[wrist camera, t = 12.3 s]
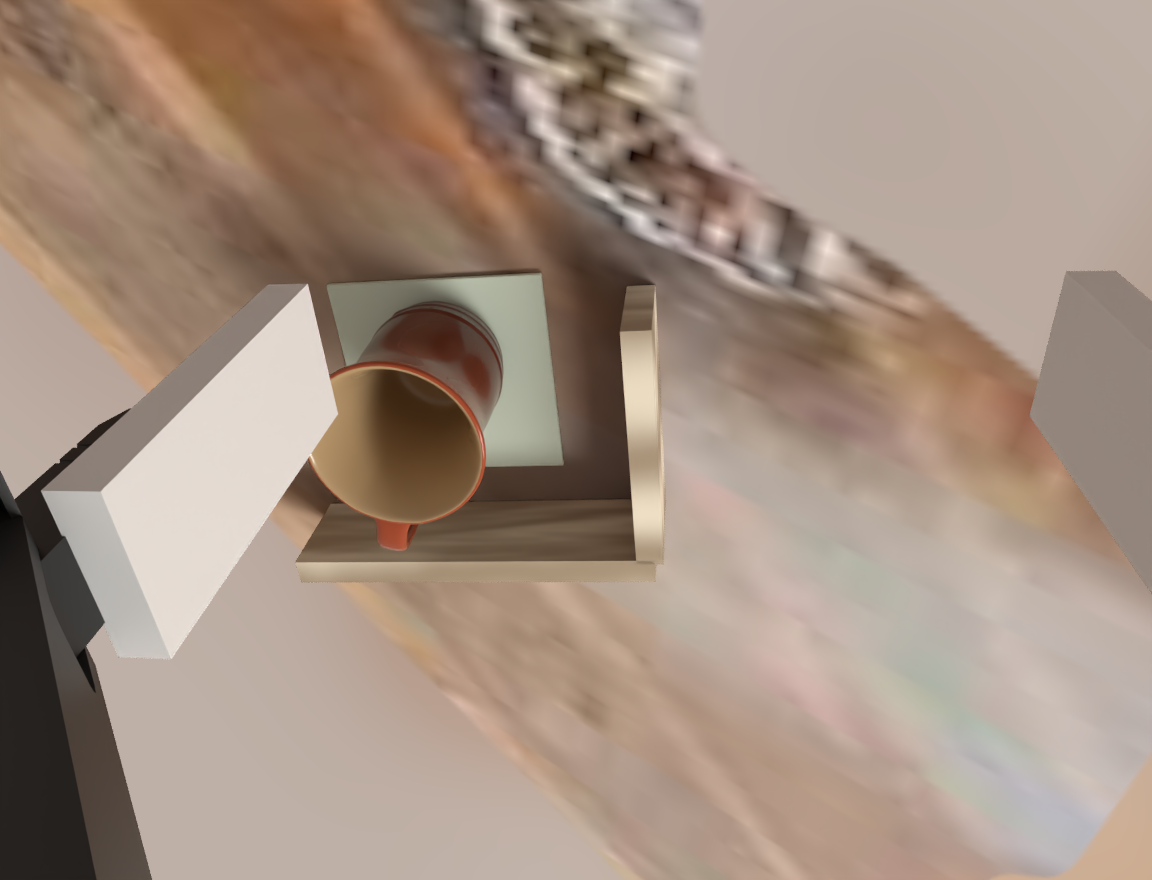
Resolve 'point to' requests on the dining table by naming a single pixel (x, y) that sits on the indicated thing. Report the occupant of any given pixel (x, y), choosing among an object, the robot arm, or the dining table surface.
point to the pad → (520, 326)
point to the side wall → (644, 420)
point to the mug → (412, 419)
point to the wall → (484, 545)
